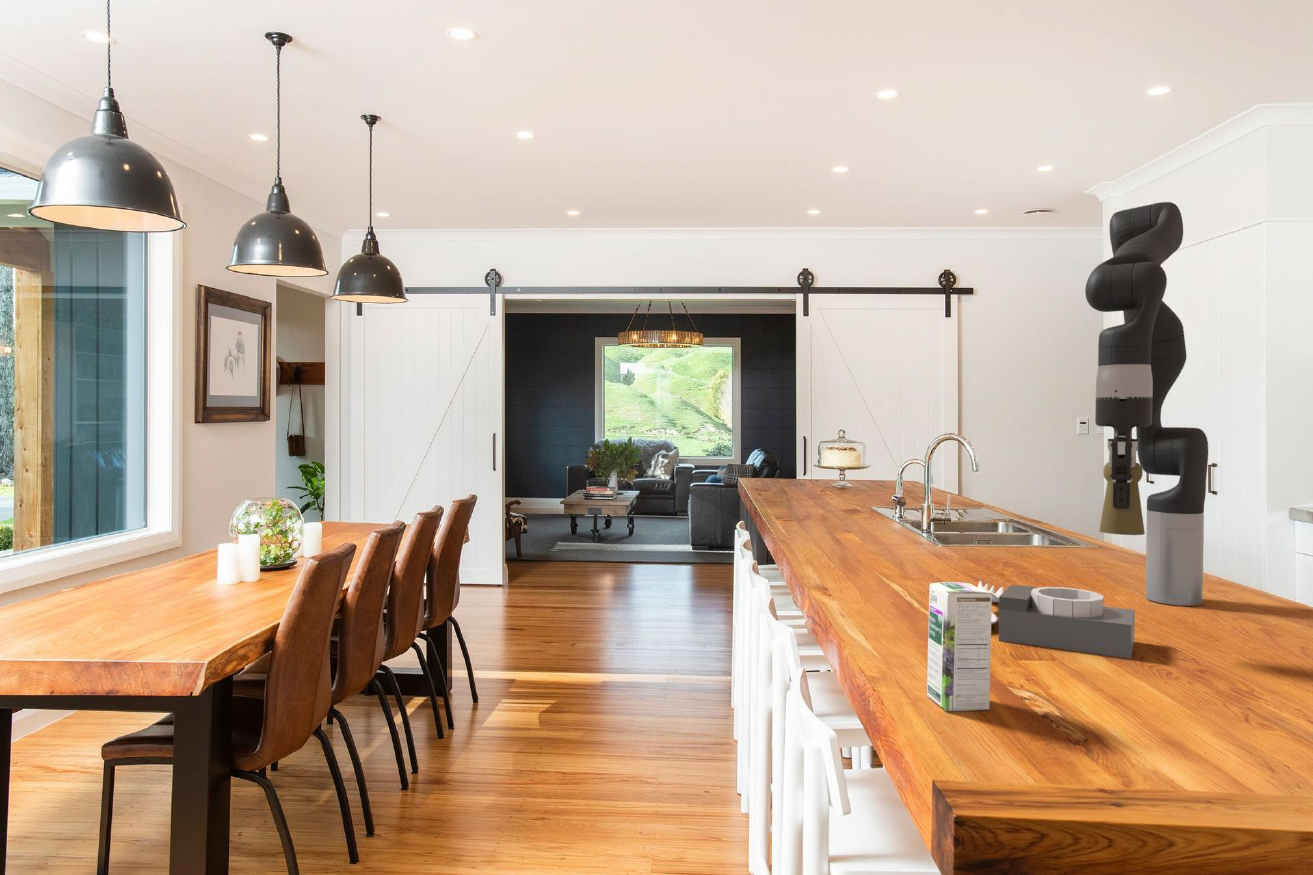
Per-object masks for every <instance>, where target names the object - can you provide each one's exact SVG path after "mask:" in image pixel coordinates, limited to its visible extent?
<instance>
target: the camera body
mask: <svg viewBox="0 0 1313 875" xmlns="http://www.w3.org/2000/svg"><path fill="white" fill-rule="evenodd" d="M1104 603H1105V596H1104V595H1103V594H1100V593H1099V592H1095V591H1092V590H1086V589H1081V588H1075V587H1073V588H1072V587H1063V586H1062V587H1061V586H1043V587H1042V586H1041V587H1037V586H1030V585H1026V586H1025V585H1019V584H1010V585H1009V586H1008V587H1007V588H1006V589H1004V592H1003V593H1002V594H1001V595H1000V596H999V603H998V642H1005V643H1013V644H1019V645H1027V646H1035V647H1039V648H1040V647H1042V648H1048V649H1049V648H1050V649H1057V650H1062V651H1063V650H1064V651H1071V652H1077V653H1084V654H1092V655H1098V656H1099V655H1100V656H1106V657H1113V658H1120V659H1126V660H1127V659H1129V660H1131V659H1132V654H1133V649H1134V646H1135V645H1134V644H1135V626H1136V624H1135V622H1136V621H1135V620H1136V618H1135V617H1136V616H1135V615H1136V613H1135V612H1136V609H1129V608H1121V607H1111V606H1105V605H1104Z"/></svg>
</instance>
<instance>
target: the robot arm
mask: <svg viewBox="0 0 1313 875" xmlns="http://www.w3.org/2000/svg"><path fill="white" fill-rule="evenodd" d="M1182 216H1183V215H1182V213H1181V210H1180V208H1179V206H1177V205H1176V203H1174V202H1171V201H1162V202H1155V203H1151V204H1147V205H1142V206H1138V207H1137V206H1136V207H1132V208H1128V209H1123V210H1119V211H1116V212H1114V213H1113V214H1112V215H1111V217H1110V220H1109V238H1110V239H1109V240H1110V245H1111V250H1112V254H1113V255H1112V257H1110V258H1109V259H1107V260H1105V261H1103V262H1101V263H1099V264H1098V265H1097V266H1096V267H1095V268H1094V269H1093V270H1092V271H1091V273H1090V274H1089V276H1088V278H1087V280H1086V284H1085V293H1084V294H1085V298H1086V301H1087V303H1088V305H1090V307H1091V308H1092V309H1094V310H1095V311H1098V312H1102V313H1111V312H1122V311H1123V321H1124V323H1122V324H1118V325H1116V326H1110V327H1107V328H1105V329H1102V330H1101V332H1100V333H1099V335H1098V346H1097V347H1098V348H1097V350H1098V351H1097V352H1098V353H1097V354H1098V355H1097V356H1098V357H1097V366H1098V367H1097V374H1096V380H1095V417H1094V418H1095V420H1094V421H1095V422H1094V423H1095V425H1096V426H1097V427H1111V428H1112V429H1113V438H1108V439H1107V450H1108V452H1109V454H1108V456H1109V457H1108V462H1109V467H1110V468H1111V469H1112V474H1111V481H1112V483H1116V484H1113V507H1114V508H1116V509H1128V508H1129V507H1130V484H1131V482H1132V475H1131V470H1132V469H1134V468H1135V462H1136V463H1137V457H1138V461H1139V462H1138V463H1139V464H1140V466H1141V467H1142V471H1144V472H1145V473H1147V474H1149V475H1156V476H1157V475H1160V476H1177V477H1179V480H1178V483H1177V485H1174V486H1173V487H1171V488H1170V489H1167V490H1164V491H1160V492H1156V493H1153V494H1150V495H1148V496H1147V499H1146V532H1145V533H1146V534H1145V535H1146V538H1145V539H1146V540H1145V541H1146V542H1145V543H1146V544H1145V547H1146V548H1145V553H1146V554H1145V599H1146V600H1148V601H1152V602H1155V603H1159V604H1165V605H1173V606H1187V607H1190V606H1200V605H1202V604H1203V595H1204V594H1203V584H1204V541H1205V540H1204V539H1205V538H1204V537H1205V536H1204V535H1205V534H1204V532H1205V531H1204V529H1205V528H1204V527H1205V524H1204V523H1205V502H1206V501H1205V500H1206V493H1207V492H1206V491H1207V490H1206V489H1207V476H1208V474H1207V472H1208V463H1209V442H1208V441H1209V440H1208V437H1207V435H1206V433H1205V432H1204V430H1202V429H1201V428H1198V427H1185V426H1184V427H1182V426H1180V427H1179V426H1178V427H1176V426H1175V427H1174V426H1173V427H1172V426H1171V427H1170V426H1167V427H1165V426H1163V425H1162V419H1161V418H1162V417H1161V416H1162V415H1161V414H1162V407H1163V404H1164V402H1165V399H1166V398H1167V395H1168V394H1169V392H1170V391H1171V388H1172V387H1173V385H1174V384H1175V383H1176V381H1177V379H1178V378H1179V376H1180V374H1181V373H1182V371H1183V369H1184V367H1185V364H1186V362H1187V361H1186V360H1187V348H1186V347H1187V346H1186V340H1185V332H1184V326H1183V323H1182V321H1181V319H1180V317H1178V315H1177V314H1176V313H1175V312H1174V311H1173V309H1172V308H1170V307H1169V305H1167V304H1166V303H1165V301H1163V298H1164V296H1165V293H1166V289H1167V284H1168V281H1167V280H1168V278H1167V274H1166V271H1165V270H1164V268H1163V267H1162V264H1163V263H1164V262H1166V261H1167V260H1168V259H1169V258H1170V257H1171V256H1172V255H1173V254H1174V253H1176V252H1177V250H1179V248H1180V247H1181V245H1182V243H1183V238H1184V222H1183V217H1182ZM1134 428H1135V432H1136V433H1135V434H1136V438H1133V429H1134ZM1117 468H1126V469H1127V472H1116V469H1117Z"/></svg>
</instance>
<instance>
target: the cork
mask: <svg viewBox="0 0 1313 875" xmlns="http://www.w3.org/2000/svg"><path fill="white" fill-rule="evenodd" d="M1102 470H1103V472H1102V474H1103V477H1104V479H1105V481H1106V489H1105V492H1104V493H1105V495H1104V500H1103V507H1102V512H1101V518H1100V525H1099V529H1098V530H1099V533H1103V534H1110V535H1123V536H1125V535H1127V536H1143V535H1146V534H1145V533H1146V532H1145V525H1144V519H1143V511H1142V503H1141V495H1140V489H1139V482H1140V481H1141V479H1142V478H1143V471H1144V470H1143V469H1142V467H1141V465H1140V463H1139V462H1137V461H1136V462H1135V468H1134V469H1132V470H1131V475H1132V482H1131V484H1130V507H1129V508H1128V509H1116V508H1114V507H1113V484H1116V483H1112V481H1111V474H1112V469H1111V468H1110V467H1109V461H1108V462H1106V463H1105V464H1104V467H1103V469H1102ZM1116 472H1127V469H1126V468H1117V469H1116Z"/></svg>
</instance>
